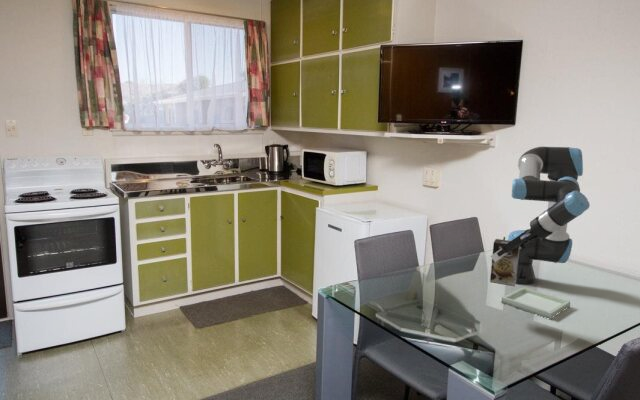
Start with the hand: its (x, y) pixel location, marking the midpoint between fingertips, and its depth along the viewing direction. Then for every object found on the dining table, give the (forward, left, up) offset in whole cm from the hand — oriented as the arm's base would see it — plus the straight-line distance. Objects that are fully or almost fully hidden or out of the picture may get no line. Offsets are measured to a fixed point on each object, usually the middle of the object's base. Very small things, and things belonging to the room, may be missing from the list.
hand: (499, 256), depth 177 cm
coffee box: (+2, 0, -10) cm, 10 cm away
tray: (+6, +21, -24) cm, 32 cm away
